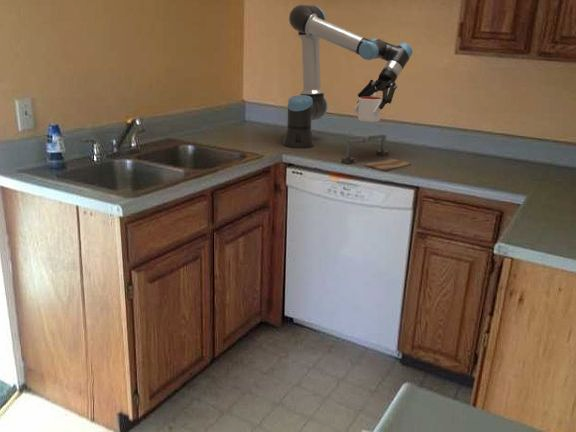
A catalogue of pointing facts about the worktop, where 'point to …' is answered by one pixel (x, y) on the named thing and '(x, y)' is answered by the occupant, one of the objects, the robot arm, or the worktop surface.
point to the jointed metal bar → (380, 152)
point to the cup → (368, 109)
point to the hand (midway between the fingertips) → (365, 112)
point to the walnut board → (387, 164)
